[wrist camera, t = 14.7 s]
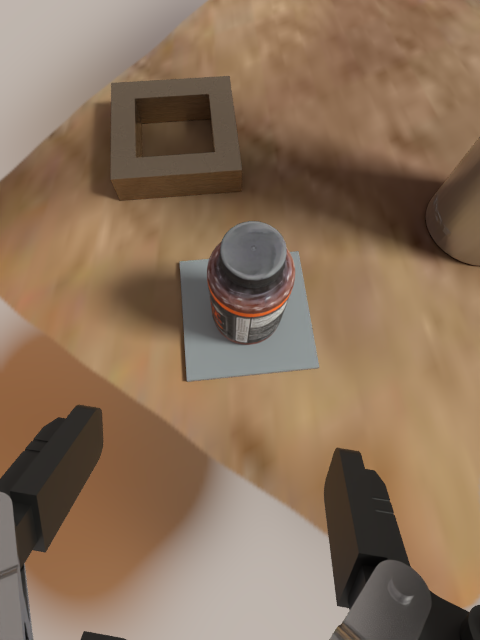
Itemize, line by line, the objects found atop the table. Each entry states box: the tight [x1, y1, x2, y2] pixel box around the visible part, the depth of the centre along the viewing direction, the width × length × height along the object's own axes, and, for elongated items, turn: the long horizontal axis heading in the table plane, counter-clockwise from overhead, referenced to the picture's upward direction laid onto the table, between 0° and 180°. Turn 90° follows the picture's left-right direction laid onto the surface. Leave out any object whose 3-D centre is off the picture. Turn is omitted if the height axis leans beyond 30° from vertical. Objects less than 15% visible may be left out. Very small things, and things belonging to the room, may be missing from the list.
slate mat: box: [180, 251, 319, 382], centre depth 33 cm, size 11×11×1 cm
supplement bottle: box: [207, 221, 295, 345], centre depth 28 cm, size 6×6×11 cm
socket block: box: [111, 76, 242, 201], centre depth 38 cm, size 12×12×3 cm
